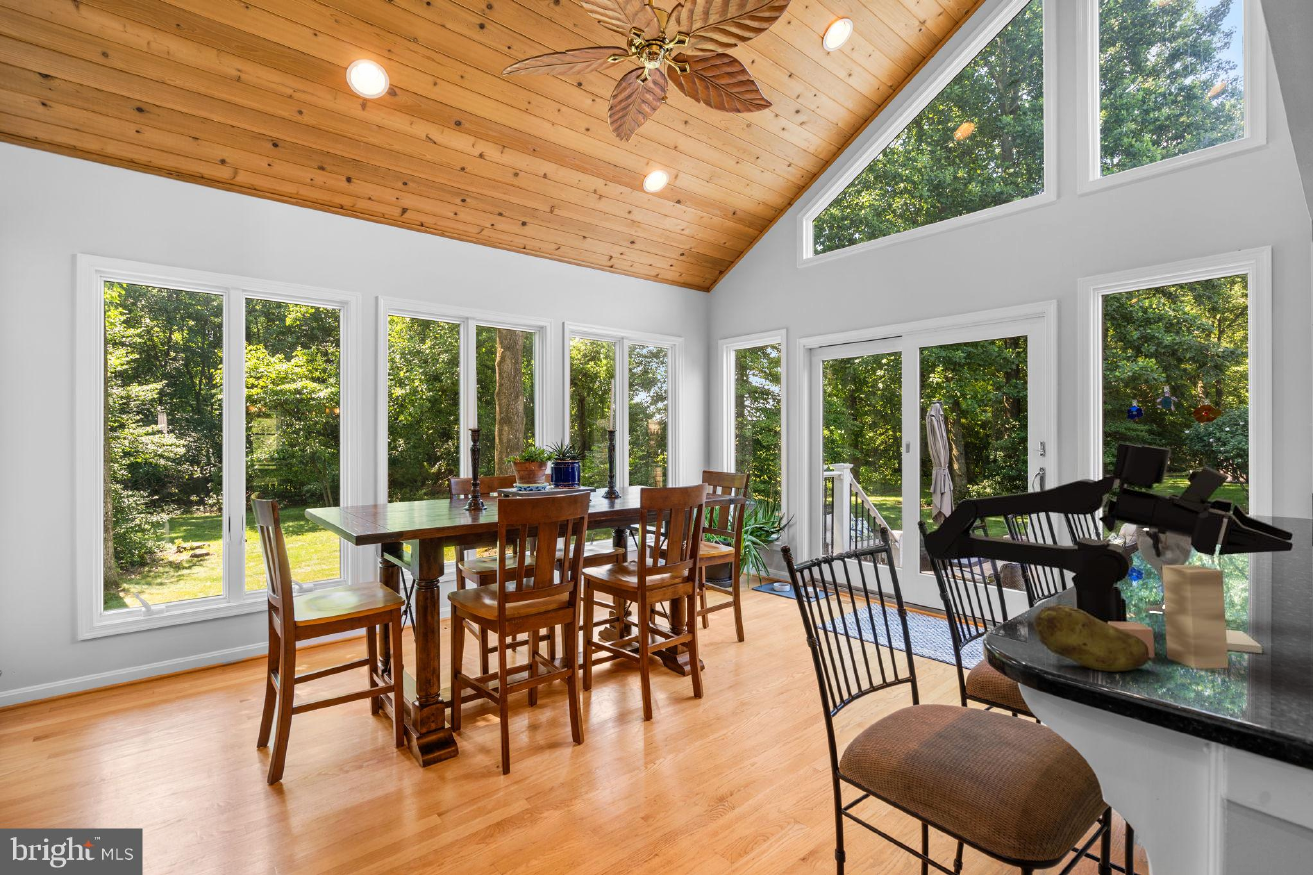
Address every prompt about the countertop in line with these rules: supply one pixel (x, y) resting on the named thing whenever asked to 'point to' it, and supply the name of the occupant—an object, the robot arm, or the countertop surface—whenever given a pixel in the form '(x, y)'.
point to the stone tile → (1241, 642)
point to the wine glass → (1162, 553)
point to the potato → (1089, 640)
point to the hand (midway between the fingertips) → (1292, 541)
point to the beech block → (1195, 616)
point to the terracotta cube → (1138, 633)
